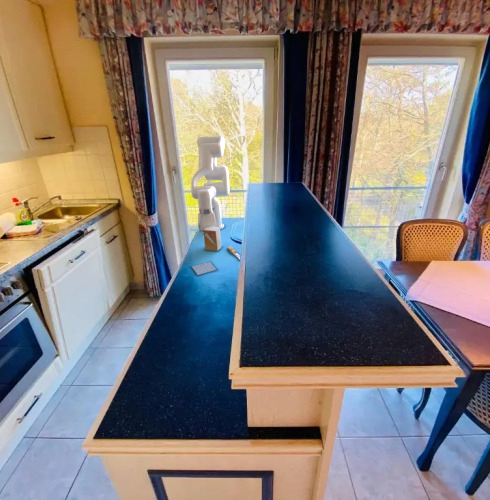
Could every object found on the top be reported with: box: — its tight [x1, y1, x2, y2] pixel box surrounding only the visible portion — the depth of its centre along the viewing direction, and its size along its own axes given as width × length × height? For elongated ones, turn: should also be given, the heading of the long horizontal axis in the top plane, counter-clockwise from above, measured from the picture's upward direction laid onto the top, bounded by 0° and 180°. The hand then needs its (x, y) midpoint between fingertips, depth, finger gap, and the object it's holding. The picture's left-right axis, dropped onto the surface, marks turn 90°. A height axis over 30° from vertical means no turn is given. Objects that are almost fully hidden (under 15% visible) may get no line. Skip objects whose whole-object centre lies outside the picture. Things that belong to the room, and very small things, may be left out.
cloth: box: [191, 261, 217, 276], centre depth 146 cm, size 10×10×1 cm
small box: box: [202, 226, 222, 252], centre depth 165 cm, size 8×6×13 cm
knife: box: [227, 245, 241, 261], centre depth 159 cm, size 17×2×2 cm, turn 28°
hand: (209, 239), depth 171 cm, fingers closed
